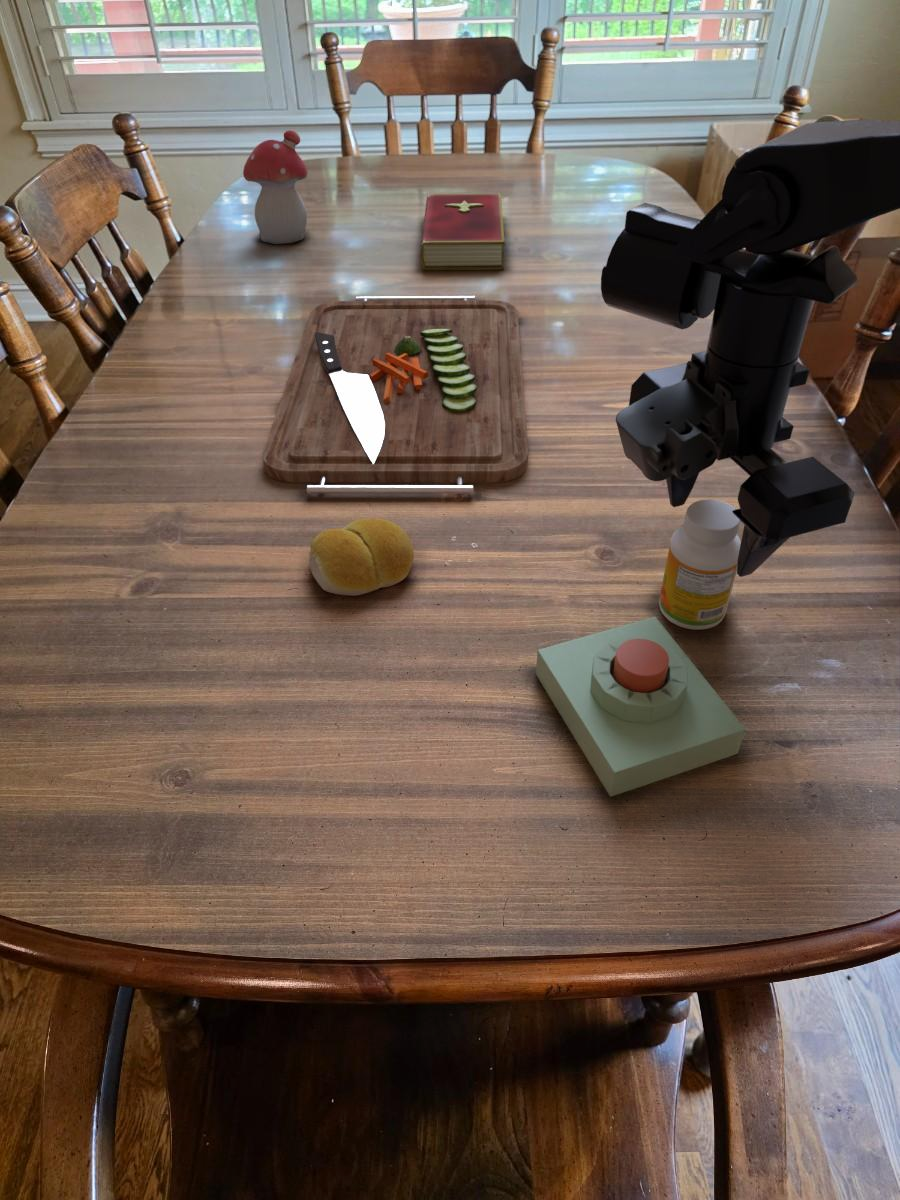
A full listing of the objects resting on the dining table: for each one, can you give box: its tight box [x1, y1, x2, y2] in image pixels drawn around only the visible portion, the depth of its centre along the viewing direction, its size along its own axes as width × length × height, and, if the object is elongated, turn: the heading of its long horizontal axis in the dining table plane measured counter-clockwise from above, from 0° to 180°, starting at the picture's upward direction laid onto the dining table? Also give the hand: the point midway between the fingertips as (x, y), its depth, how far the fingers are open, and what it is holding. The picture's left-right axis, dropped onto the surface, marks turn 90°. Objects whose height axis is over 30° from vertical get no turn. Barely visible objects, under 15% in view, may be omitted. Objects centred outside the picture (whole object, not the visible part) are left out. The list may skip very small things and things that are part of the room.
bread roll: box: [307, 517, 415, 597], centre depth 75 cm, size 8×9×4 cm
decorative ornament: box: [242, 129, 308, 245], centre depth 131 cm, size 9×6×15 cm
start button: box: [613, 639, 669, 693], centre depth 60 cm, size 4×4×2 cm
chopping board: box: [262, 295, 529, 495], centre depth 99 cm, size 45×27×3 cm, turn 179°
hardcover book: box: [419, 192, 506, 271], centre depth 132 cm, size 12×21×4 cm, turn 179°
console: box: [535, 616, 746, 798], centre depth 62 cm, size 10×12×4 cm
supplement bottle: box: [658, 499, 742, 631], centre depth 68 cm, size 5×5×10 cm
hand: (709, 538), depth 66 cm, fingers open, 9 cm apart
